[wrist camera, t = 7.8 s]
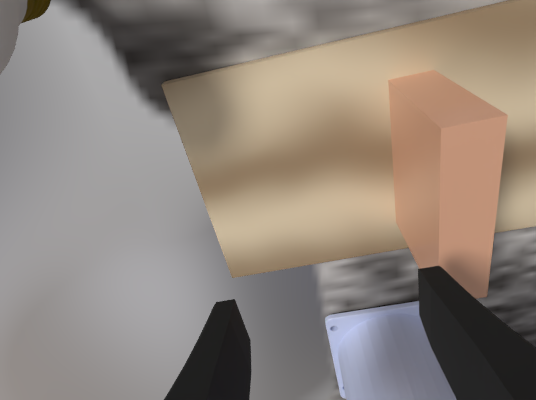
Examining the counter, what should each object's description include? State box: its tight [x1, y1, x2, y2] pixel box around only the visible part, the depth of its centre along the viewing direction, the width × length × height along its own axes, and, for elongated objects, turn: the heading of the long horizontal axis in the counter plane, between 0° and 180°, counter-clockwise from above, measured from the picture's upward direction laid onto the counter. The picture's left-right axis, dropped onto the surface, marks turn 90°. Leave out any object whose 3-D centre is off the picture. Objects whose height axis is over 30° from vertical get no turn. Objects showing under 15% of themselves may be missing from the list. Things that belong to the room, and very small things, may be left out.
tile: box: [388, 70, 508, 299], centre depth 16 cm, size 8×2×6 cm, turn 13°
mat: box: [161, 0, 536, 278], centre depth 19 cm, size 12×18×1 cm, turn 103°
